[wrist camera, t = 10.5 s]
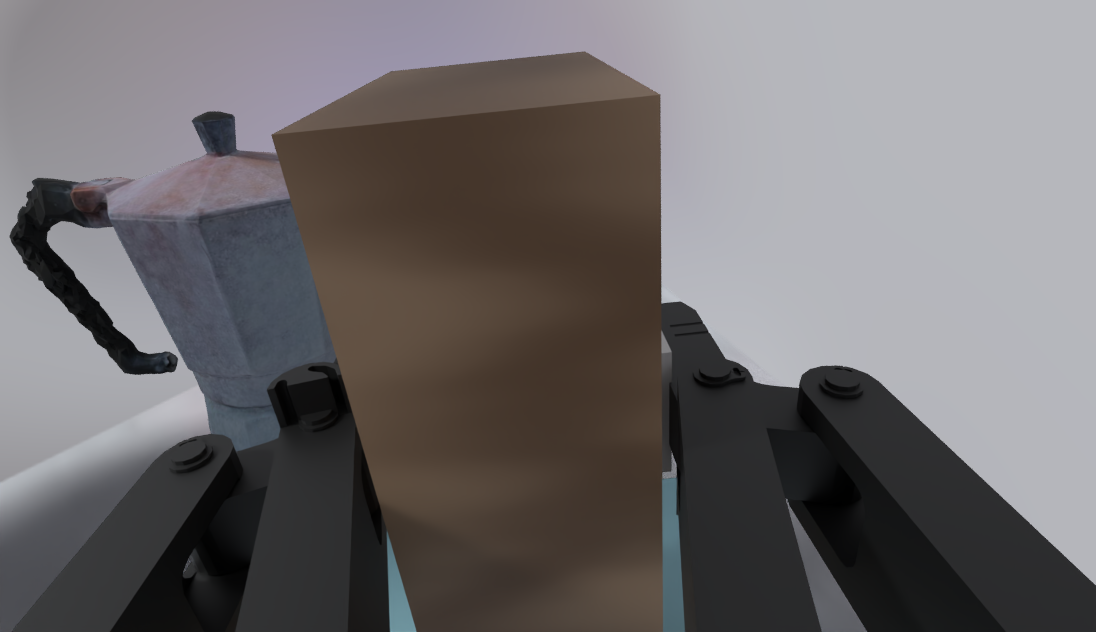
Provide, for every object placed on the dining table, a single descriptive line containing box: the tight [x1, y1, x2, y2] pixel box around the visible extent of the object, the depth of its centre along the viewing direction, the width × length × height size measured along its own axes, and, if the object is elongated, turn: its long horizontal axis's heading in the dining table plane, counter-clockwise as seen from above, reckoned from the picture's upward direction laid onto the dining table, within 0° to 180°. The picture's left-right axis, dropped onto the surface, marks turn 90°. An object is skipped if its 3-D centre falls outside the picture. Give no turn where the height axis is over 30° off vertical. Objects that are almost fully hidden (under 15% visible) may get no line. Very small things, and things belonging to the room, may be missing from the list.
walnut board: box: [272, 52, 663, 632], centre depth 13 cm, size 4×7×15 cm, turn 3°
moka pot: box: [10, 112, 336, 452], centre depth 29 cm, size 10×15×20 cm, turn 105°
